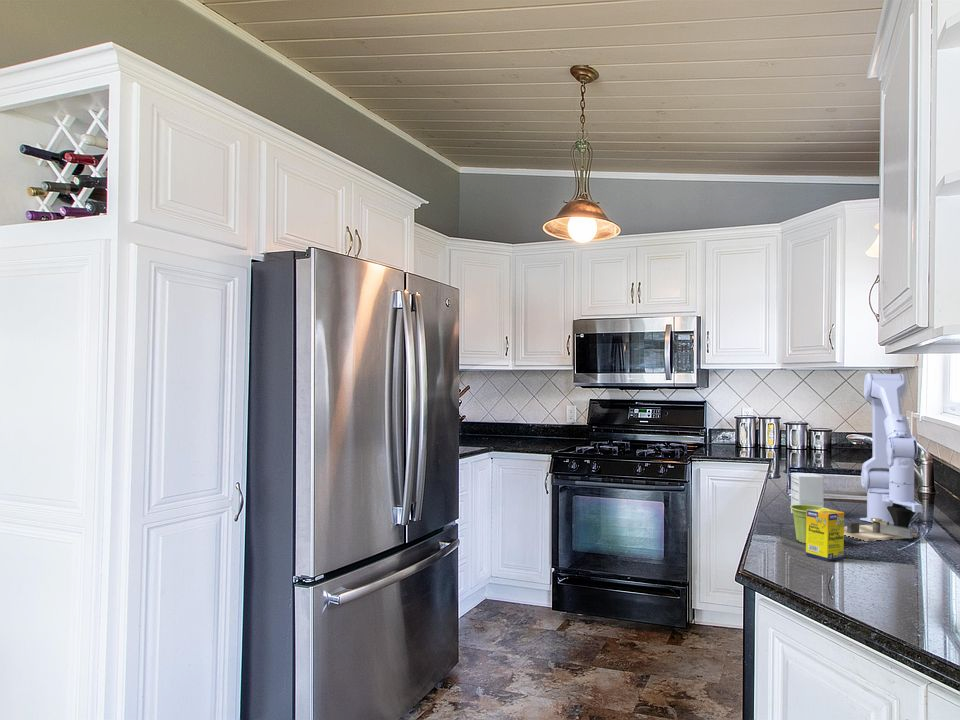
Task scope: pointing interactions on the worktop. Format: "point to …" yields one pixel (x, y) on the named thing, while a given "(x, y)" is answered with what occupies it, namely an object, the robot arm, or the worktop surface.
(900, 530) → the lock bar
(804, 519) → the plant pot
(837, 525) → the supplement box
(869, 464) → the robot arm
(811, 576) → the worktop surface
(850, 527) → the jamb board
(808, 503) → the supplement box
